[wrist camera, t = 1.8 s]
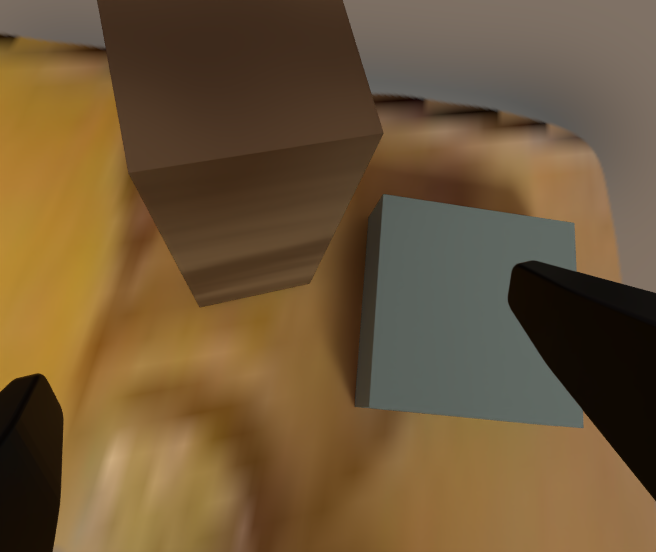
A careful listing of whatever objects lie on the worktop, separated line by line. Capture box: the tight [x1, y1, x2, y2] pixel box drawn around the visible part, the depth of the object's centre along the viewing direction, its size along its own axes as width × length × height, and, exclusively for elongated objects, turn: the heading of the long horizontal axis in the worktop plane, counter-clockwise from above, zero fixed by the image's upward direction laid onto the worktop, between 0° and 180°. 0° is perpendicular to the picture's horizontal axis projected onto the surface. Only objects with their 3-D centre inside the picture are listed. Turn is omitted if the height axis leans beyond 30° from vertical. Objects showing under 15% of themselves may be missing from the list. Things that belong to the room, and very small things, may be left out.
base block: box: [355, 194, 583, 428], centre depth 22 cm, size 9×9×3 cm
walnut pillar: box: [97, 0, 383, 307], centre depth 16 cm, size 5×5×13 cm
